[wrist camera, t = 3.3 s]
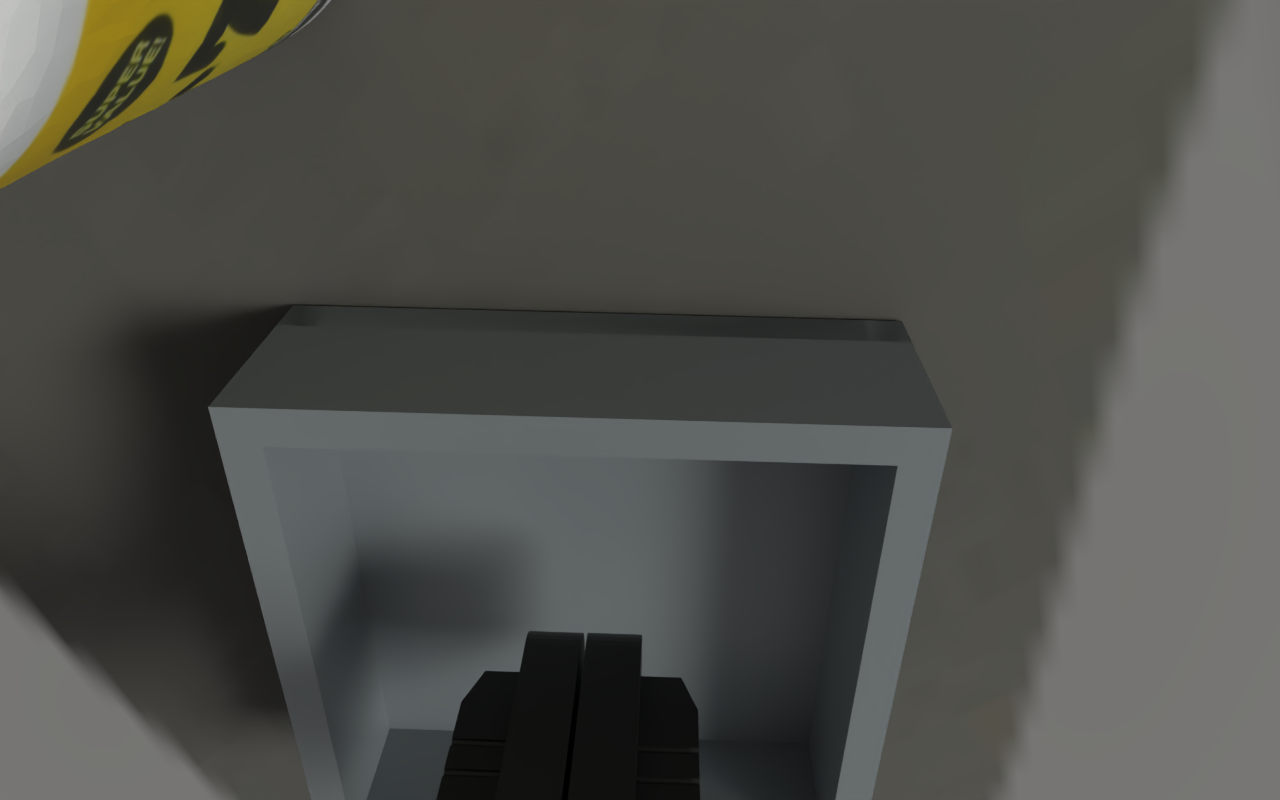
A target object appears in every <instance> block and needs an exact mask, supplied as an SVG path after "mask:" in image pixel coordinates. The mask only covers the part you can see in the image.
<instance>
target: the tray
mask: <svg viewBox="0 0 1280 800" xmlns="http://www.w3.org/2000/svg"><path fill="white" fill-rule="evenodd" d="M208 409H209V412H210V416H211V420H212V424H213V428H214V431H215V435H216V439H217V443H218V447H219V450H220V454H221V458H222V462H223V466H224V469H225V473H226V477H227V481H228V485H229V488H230V492H231V496H232V500H233V504H234V507H235V511H236V515H237V519H238V523H239V526H240V530H241V534H242V538H243V542H244V545H245V549H246V553H247V557H248V561H249V564H250V568H251V572H252V576H253V580H254V583H255V587H256V591H257V595H258V599H259V602H260V606H261V610H262V614H263V618H264V621H265V625H266V629H267V633H268V637H269V640H270V644H271V648H272V652H273V656H274V659H275V663H276V667H277V671H278V675H279V678H280V682H281V686H282V690H283V694H284V697H285V701H286V705H287V709H288V713H289V716H290V720H291V724H292V728H293V732H294V735H295V739H296V743H297V747H298V751H299V754H300V758H301V762H302V766H303V770H304V773H305V777H306V781H307V785H308V789H309V792H310V796H311V800H436V798H437V794H438V790H439V786H440V783H441V779H442V776H443V775H444V767H445V763H446V759H447V755H448V751H449V748H450V745H451V744H452V736H453V732H454V728H455V724H456V720H457V716H458V713H459V709H460V705H461V701H462V700H463V699H464V698H465V696H466V695H467V694H468V692H469V691H470V690H471V689H472V687H473V686H474V685H475V683H476V682H477V681H478V680H479V678H480V677H481V676H482V675H483V673H484V672H485V671H506V672H520V667H521V662H522V657H523V652H524V646H525V641H526V637H527V634H528V632H529V631H547V632H575V633H584V638H585V647H586V639H587V634H588V633H611V634H639V635H642V676H651V677H678V678H682V680H683V682H684V684H685V686H686V688H687V690H688V692H689V694H690V696H691V698H692V699H693V701H694V703H695V705H696V707H697V709H698V726H699V769H700V800H872V795H873V790H874V786H875V781H876V777H877V772H878V767H879V763H880V758H881V754H882V749H883V745H884V740H885V735H886V731H887V726H888V722H889V717H890V712H891V708H892V703H893V699H894V694H895V690H896V685H897V680H898V676H899V671H900V667H901V662H902V657H903V653H904V648H905V644H906V639H907V634H908V630H909V625H910V621H911V616H912V612H913V607H914V602H915V598H916V593H917V589H918V584H919V579H920V575H921V570H922V566H923V561H924V557H925V552H926V547H927V543H928V538H929V534H930V529H931V524H932V520H933V515H934V511H935V506H936V501H937V497H938V492H939V488H940V483H941V479H942V474H943V469H944V465H945V460H946V456H947V451H948V446H949V442H950V437H951V433H952V426H951V424H950V422H949V420H948V418H947V416H946V414H945V412H944V410H943V407H942V405H941V403H940V401H939V399H938V397H937V395H936V393H935V390H934V388H933V386H932V384H931V382H930V380H929V378H928V376H927V373H926V371H925V369H924V367H923V365H922V363H921V361H920V359H919V356H918V354H917V352H916V350H915V348H914V346H913V344H912V342H911V339H910V337H909V335H908V333H907V331H906V329H905V327H904V325H903V322H902V321H879V320H841V319H802V318H764V317H726V316H688V315H649V314H611V313H573V312H534V311H496V310H458V309H420V308H381V307H343V306H305V305H293V306H292V307H291V308H290V310H289V311H288V312H287V313H286V314H285V316H284V317H283V318H282V319H281V320H280V322H279V323H278V324H277V325H276V326H275V328H274V329H273V330H272V331H271V332H270V334H269V335H268V336H267V337H266V338H265V340H264V341H263V342H262V343H261V344H260V345H259V347H258V348H257V349H256V350H255V351H254V353H253V354H252V355H251V356H250V357H249V359H248V360H247V361H246V362H245V363H244V365H243V366H242V367H241V368H240V369H239V371H238V372H237V373H236V374H235V375H234V377H233V378H232V379H231V380H230V381H229V383H228V384H227V385H226V386H225V387H224V389H223V390H222V391H221V392H220V393H219V395H218V396H217V397H216V398H215V399H214V401H213V402H212V403H211V404H210V405H209V406H208Z"/></svg>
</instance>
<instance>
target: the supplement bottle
mask: <svg viewBox="0 0 1280 800" xmlns="http://www.w3.org/2000/svg"><path fill="white" fill-rule="evenodd" d="M330 1H331V0H0V188H3V187H5V186H7V185H9V184H10V183H12V182H14V181H16V180H18V179H20V178H21V177H23V176H25V175H27V174H29V173H31V172H32V171H34V170H36V169H38V168H40V167H42V166H44V165H45V164H47V163H49V162H51V161H53V160H55V159H57V158H58V157H60V156H62V155H64V154H66V153H68V152H70V151H72V150H74V149H76V148H78V147H80V146H82V145H84V144H86V143H88V142H90V141H92V140H94V139H96V138H98V137H100V136H102V135H104V134H106V133H108V132H110V131H112V130H114V129H115V128H117V127H119V126H121V125H123V124H125V123H127V122H129V121H131V120H133V119H135V118H137V117H139V116H141V115H143V114H145V113H147V112H149V111H152V110H154V109H156V108H158V107H159V106H161V105H163V104H164V103H166V102H168V101H170V100H172V99H174V98H176V97H178V96H180V95H182V94H183V93H185V92H187V91H189V90H191V89H193V88H195V87H197V86H199V85H201V84H203V83H205V82H207V81H209V80H211V79H213V78H215V77H217V76H219V75H221V74H223V73H225V72H227V71H229V70H231V69H232V68H234V67H236V66H238V65H241V64H243V63H245V62H247V61H248V60H250V59H252V58H254V57H256V56H258V55H260V54H261V53H263V52H265V51H267V50H269V49H270V48H272V47H274V46H275V45H277V44H279V43H280V42H282V41H284V40H285V39H287V38H288V37H290V36H292V35H293V34H295V33H296V32H297V31H299V30H300V29H302V28H303V27H304V26H306V25H307V24H308V23H309V22H310V21H312V20H313V19H314V18H315V17H316V16H317V15H318V14H319V13H320V12H321V11H322V10H323V9H324V8H325V7H326V6H327V4H328V3H329V2H330Z"/></svg>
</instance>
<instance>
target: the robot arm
mask: <svg viewBox="0 0 1280 800" xmlns="http://www.w3.org/2000/svg"><path fill="white" fill-rule="evenodd" d="M436 800H700V769H699V726H698V709H697V707H696V705H695V703H694V701H693V699H692V698H691V696H690V694H689V692H688V690H687V688H686V686H685V684H684V682H683V680H682V678H678V677H651V676H642V635H639V634H611V633H588V634H587V639H586V647H585V638H584V633H575V632H547V631H529V632H528V634H527V637H526V641H525V646H524V652H523V657H522V662H521V667H520V672H506V671H485V672H484V673H483V675H482V676H481V677H480V678H479V680H478V681H477V682H476V683H475V685H474V686H473V687H472V689H471V690H470V691H469V692H468V694H467V695H466V696H465V698H464V699H463V700H462V701H461V705H460V709H459V713H458V716H457V720H456V724H455V728H454V732H453V736H452V744H451V745H450V748H449V751H448V755H447V759H446V763H445V767H444V775H443V776H442V779H441V783H440V786H439V790H438V794H437V798H436Z"/></svg>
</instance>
